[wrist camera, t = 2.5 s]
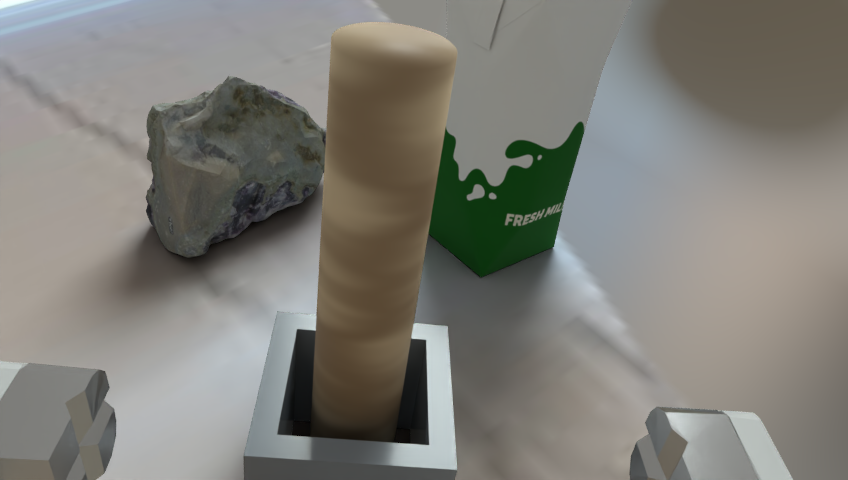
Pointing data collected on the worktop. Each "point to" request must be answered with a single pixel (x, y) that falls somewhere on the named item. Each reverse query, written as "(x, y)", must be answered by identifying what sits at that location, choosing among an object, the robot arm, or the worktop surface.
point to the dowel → (375, 219)
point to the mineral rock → (228, 163)
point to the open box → (340, 458)
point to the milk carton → (516, 122)
